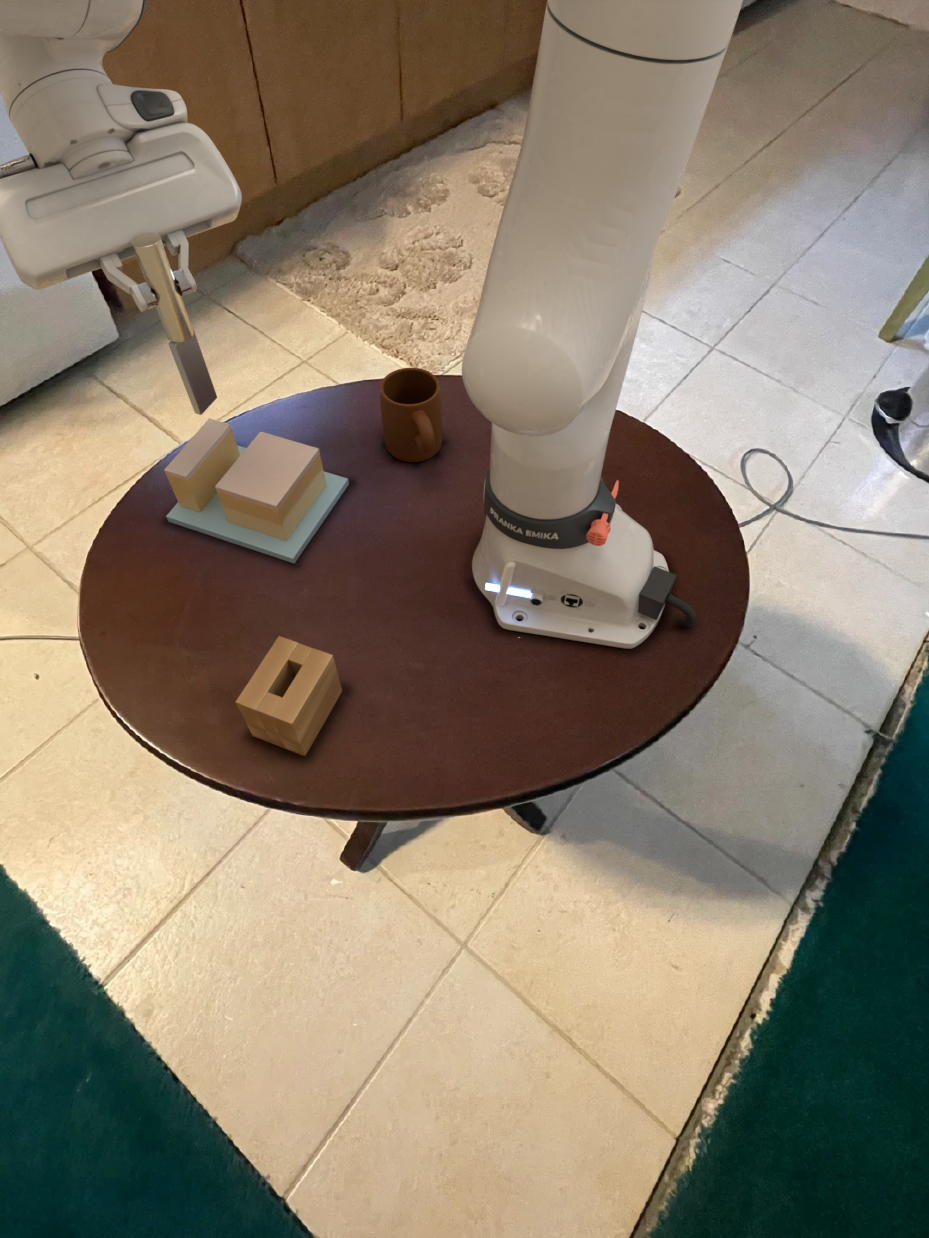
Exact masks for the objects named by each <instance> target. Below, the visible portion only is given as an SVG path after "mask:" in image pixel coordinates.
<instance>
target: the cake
mask: <svg viewBox="0 0 929 1238" xmlns="http://www.w3.org/2000/svg"><path fill="white" fill-rule="evenodd" d="M237 447H238V450H239V453H240V457H239V458H238V459H237V460H236V462H235V463H234V464H233V465H232V467H231V468H230V469H229V470H228V471H227V473H226V474H225V475H224V476H223V477H222V479H221V480H220V481H219V482H218V484H217V485H216V486H215V488H216V490H217V493H216V494H215V495H214V496H213V498H212V499H211V500H210V501H209V503H208V504H207V505H206V506H205V508H204V509H203V510H202V511H201V512H198V511H195V510H191V509H188V508H185V507H182V506H180V505H179V503H178V502H176V504H175V505H174V506H173V507H172V508H171V509H170V511H169V512H168V513H167V514H166V515H165V519H166V520H167V522H169V523H172V524H174V525H178V526H181V527H183V528H186V529H188V530H192V531H196V532H198V533H201V534H204V535H207V536H210V537H213V538H215V539H219V540H222V541H224V542H228V543H231V544H234V545H236V546H240V547H243V548H246V549H249V550H253V551H255V552H258V553H261V554H264V555H267V556H270V557H273V558H276V559H279V560H282V561H285V562H287V563H291V564H296V563H297V561H298V559H299V558H300V557H301V555H302V554H303V552H304V550H305V549H306V548H307V546H308V545H309V544H310V542H311V540H312V539H313V537H314V536H315V534H316V533H317V532H318V530H319V529H320V527H321V526H322V525H323V523H324V521H325V520H326V518H327V517H328V516H329V514H330V513H331V511H332V510H333V508H334V507H335V506H336V504H337V502H338V501H339V500H340V498H341V497H342V495H344V492H345V491H346V489H347V488H348V486H349V485H350V483H349V482H350V481H349V478H347V477H344V476H340V475H337V474H335V473H331V472H328V471H325V470H324V466H323V461H322V456H321V453H320V448H319V447H315V446H311V445H309V444H304V443H301V442H298V441H294V440H291V439H289V438H285V437H281V436H277V435H274V434H271V433H268V432H264V431H259V433H258V434H257V435H256V436H255V437H254V438H253V440H252V441H251V442H250V443H249V445H248V446H247V447H244V446H241V445H238V444H237Z"/></svg>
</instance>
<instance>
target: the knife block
mask: <svg viewBox="0 0 929 1238" xmlns="http://www.w3.org/2000/svg"><path fill="white" fill-rule="evenodd" d="M342 693H343V688H342V684H341V680H340V677H339V673H338V670H337V666H336V661H335V657H334V655H333V654H331V653H328V652H325V651H323V650H320V649H317V648H314V647H311V646H308V645H305V644H302V643H299V642H297V641H294V640H292V639H289V638H286V637H283V636H280V635H278V637H277V638H276V639H275V641H274V643H273V644H272V646H271V647H270V649H269V650H268V651H267V653H266V655H265V656H264V658H263V659H262V661H261V662H260V664H259V665H258V666H257V668H256V670H255V671H254V673H253V674H252V675H251V678H250V679H249V681H248V682H247V684H246V685H245V687H244V688H243V689H242V691H241V693H240V694H239V696H238V698H237V699H236V700H235V704H236V706H237V708H238V710H239V712H240V714H241V716H242V719H243V720H244V722H245V724H246V726H247V728H248V730H249V732H250V734H251V736H252V737H255V738H256V739H260V740H262V741H263V742H264V741H265V742H267V743H269V744H272V745H275V746H277V747H280V748H282V749H284V750H287V751H290V752H292V753H295V754H298V755H299V756H303V757H306V756H307V754H308V753H309V751H310V749H311V747H312V745H313V744H314V742H315V740H316V738H317V737H318V734H319V733H320V731H321V730H322V728H323V726H324V725H325V723H326V721H327V719H328V717H329V716H330V714H331V712H332V710H333V708H334V707H335V706H336V703H337V701H338V700H339V699H340V696H341V694H342Z"/></svg>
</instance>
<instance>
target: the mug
mask: <svg viewBox="0 0 929 1238" xmlns="http://www.w3.org/2000/svg"><path fill="white" fill-rule="evenodd" d="M442 403H443V402H442V392H441V384H440V381H439V379H438V378H437V377H436V375H435V374H434V373H432V372H430V371H429V370H426V369H424V368H419V367H403V368H398V369H396V370H393V371H391V372H390V373H388V374H386V375H385V376H384V377H383V379H382V380H381V382H380V385H379V404H380V405H379V406H380V414H381V423H382V429H383V430H382V431H383V437H384V443H385V447H386V450H387V451H388V453H389V454H390V455H391V456H392V457H394V458H395V459H396V460H399V461H401V462H406V463H419V462H424V461H427V460H429V459H431V458H433V457H434V456H435V455H436V454H437V453H438V452H439V451H440V449H441V447H442V444H443V405H442Z"/></svg>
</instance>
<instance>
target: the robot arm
mask: <svg viewBox="0 0 929 1238" xmlns="http://www.w3.org/2000/svg"><path fill="white" fill-rule="evenodd" d="M148 3H149V0H0V95H1V97H2V101H3V104H4V108H5V112H6V114H7V117H8V118H9V121H10V122H11V124H12V127H13V129H15V131H16V133H17V135H18V137H19V138H20V141H21V143H22V144H23V146H24V148H25V150H26V151H27V152H28V154H27V155H23V156H20V157H17V158H14V159H11V160H8V161H6V162H5V163H1V164H0V241H1V243H2V245H3V248H4V250H5V252H6V254H7V256H8V259H9V261H10V263H11V265H12V267H13V269H14V270H15V272H16V274H17V276H18V279H19V280H20V282H21V283H22V284H23V285H25V286H27V287H30V288H31V289H34V290H36V291H41V290H44V289H46V288H49V287H52V286H54V285H57V284H60V283H64V282H66V281H69V280H72V279H75V278H77V277H81V276H82V275H83V276H84V275H85V274H88V273H92V272H93V271H97V270H100V269H101V270H102V272H103V274H104V276H105V277H106V279H107V280H108V281H109V282H110V283H112V284H113V285H115V286H116V287H117V288H119V289H120V290H122V291H123V292H125V293H126V294H128V295H130V296H131V298H132V299H133V301H134V303H135V305H136V307H137V309H138V310H139V311H140V312H141V313H143V312H146V311H149V310H151V309H154V308H156V306H157V299H156V297H155V295H154V294H153V293H151V288H150V286H149V284H148V283H147V282H146V281H144V282H141V283H139V284H138V283H137V282H136V281H135V280H133V279H132V278H131V277H129V276H128V275H126V274H125V273H124V272H123V262H122V261H126V260H128V259H131V258H134V257H136V254H135V251H134V249H133V246H132V243H131V241H132V239H133V238H134V237H135V236H137V235H139V234H143V233H156V234H158V235H159V236H160V237H161V240H162V243H163V246H164V247H165V246H166V249H167V250H168V252H169V253H170V255H171V256H172V257H175V256H177V255H178V259H177V261H178V269H177V270H174V271H172V272H173V274H174V277H175V280H176V283H177V286H178V289H179V292H180V295H181V297H184V296H187V295H191V294H193V293H196V292H197V290H198V285H197V283H196V281H195V278H194V276H193V275H192V272H191V271H190V269H189V243H190V242H189V241H188V239H187V238H191V237H192V236H195V235H198V234H201V233H204V232H206V231H209V230H213V229H215V228H218V227H220V226H223V225H227V224H229V223H232V222H234V221H236V220H237V219H238V215H239V213H240V210H241V206H242V201H243V195H242V194H243V193H242V190H241V188H240V186H239V184H238V181H237V180H236V178H235V176H234V174H233V173H232V170H231V169H230V167H229V165H228V164H227V162H226V161H225V158H224V157H223V155H222V154H221V152H220V151H219V149H218V147H217V146H216V145H215V143H214V141H213V140H212V139H211V138H210V136H209V135H208V134H207V133H206V132H205V131H204V130H203V129H202V128H200V127H199V126H197V125H196V124H194V123H191V122H188V109H187V105H186V103H185V101H184V98H182V96H181V94H180V93H179V92H177V91H176V90H173V89H163V88H147V87H136V86H128V85H120V84H116V83H113V82H112V80H111V79H110V77H109V76H108V74H107V72H106V71H105V69H104V66H103V59H104V57H105V55H106V54H107V53H111V52H113V51H115V50H116V49H118V48H119V47H120V46H121V45H122V44H123V43H124V42H125V41H126V39H127V38H129V36H130V35H131V34H132V33H133V32H134V30H135V29H136V27H137V26H138V25H139V23H140V22H141V20H142V18H143V16H144V14H145V12H146V9H147V8H148V7H147V6H148ZM743 3H744V0H547V1H546V5H545V12H544V18H543V23H542V30H541V35H540V40H539V46H538V52H537V58H536V63H535V70H534V75H533V80H532V87H531V92H530V98H529V104H528V109H527V115H526V122H525V127H524V131H523V136H522V141H521V145H520V150H519V154H518V156H517V161H516V165H515V167H514V168H515V169H514V171H513V176H512V178H511V181H510V185H509V188H508V191H507V195H506V199H505V202H504V206H503V209H502V212H501V217H500V219H499V223H498V226H497V231H496V234H495V238H494V241H493V245H492V248H491V253H490V255H489V261H488V263H487V264H488V265H487V268H486V272H485V277H484V281H483V284H482V289H481V292H480V297H479V302H478V305H477V309H476V313H475V316H474V320H473V324H472V326H471V329H470V332H469V335H468V339H467V343H466V346H465V350H464V354H463V357H462V361H461V378H462V382H463V386H464V390H465V392H466V394H467V396H468V398H469V400H470V401H471V403H472V404H473V405H474V407H475V408H476V409H477V411H478V412H479V413H480V414H481V415H482V416H483V417H484V418H485V419H487V421H489V422H491V427H490V428H491V429H490V431H491V432H490V454H489V455H490V456H489V458H490V459H489V468H488V470H487V471H486V474H485V478H484V485H483V498H482V500H483V504H484V505H483V509H484V510H483V513H484V515H485V520H484V526H483V530H482V534H481V537H480V540H479V542H478V544H477V545H476V546H477V547H476V548H475V550H474V552H473V556H472V560H471V571H472V575H473V579H474V582H475V584H476V586H477V588H478V589H479V591H480V593H481V594H482V595H483V596H484V597H485V598H486V599H487V601H488V602H489V604H491V606H492V608H493V612H494V617H495V619H496V622H497V623H498V625H499V627H501V628H502V629H504V630H507V631H513V632H520V633H526V634H533V635H538V636H546V637H550V638H551V637H552V638H557V639H564V640H568V641H569V640H570V641H575V642H580V643H581V642H582V643H588V644H594V645H600V646H606V647H607V646H608V647H614V648H621V649H629V650H630V649H635V648H636V647H638V646H640V645H641V644H642V643H644V642H645V640H647V639H648V638H649V636H650V635H651V634H652V633H653V632H654V630H655V628H656V627H657V625H658V623H659V621H660V619H661V617H662V614H663V611H664V609H665V607H666V606H665V605H666V603H667V604H669V605H670V606H673V607H674V608H675V609H678V610H679V611H681V612H682V613H683V614H684V615H685V620H684V625H685V627H687V628H691V627H693V626H694V624H695V621H696V619H697V616H696V612H695V611H694V609H693V608H692V607H691V606H690V605H689V604H688V603H686V602H685V601H684V600H681V598H679V597H677V596H675V595H673V594H671V592H672V590H673V587H674V584H675V582H676V578H677V574H674V573H673V572H670V570H669V567H668V563H667V561H666V558H665V557H664V555H663V554H662V553H660V552H658V551H657V550H655V549H654V544H653V543H654V542H653V539H652V536H651V534H650V533H649V531H648V530H647V529H646V528H645V527H644V526H642V525H641V524H640V523H638V521H636V520H634V519H633V518H632V517H631V516H630V515H628V514H627V513H626V512H625V511H623V509H622V507H621V505H619V504H618V503H617V501H616V498H617V496H618V492H619V486H620V485H619V484H620V481H619V479H617V480H616V481H615V483H614V486H613V488H612V491H610V490H609V489H608V487H607V486H606V484H605V482H604V481H603V477H602V471H603V468H604V463H605V457H606V452H607V447H608V443H609V438H610V433H611V428H612V424H613V420H614V418H615V415H616V410H617V407H618V403H619V400H620V397H621V392H622V389H623V385H624V381H625V378H626V374H627V370H628V367H629V363H630V360H631V356H632V352H633V349H634V344H635V341H636V338H637V337H636V336H637V333H638V330H639V326H640V322H641V319H642V314H643V310H644V305H645V301H646V297H647V293H648V289H649V286H650V281H651V275H652V269H653V264H654V263H653V261H654V252H655V249H656V247H657V244H658V242H659V239H660V236H661V233H662V231H663V228H664V226H665V223H666V221H667V218H668V216H669V214H670V213H669V212H670V210H671V208H672V205H673V203H674V200H675V198H676V195H677V192H678V190H679V188H680V185H681V183H682V179H683V176H684V174H685V170H686V168H687V165H688V162H689V159H690V156H691V154H692V150H693V148H694V145H695V143H696V139H697V136H698V134H699V131H700V128H701V125H702V122H703V119H704V116H705V113H706V111H707V108H708V105H709V102H710V99H711V97H712V94H713V90H714V88H715V85H716V82H717V80H718V76H719V73H720V71H721V69H722V64H723V63H724V59H725V56H726V54H727V51H728V48H729V46H730V42H731V40H732V36H733V33H734V31H735V26H736V25H737V21H738V19H739V15H740V13H741V12H740V11H741V9H742V6H743ZM519 619H520V621H518V620H519ZM642 628H643V629H642Z"/></svg>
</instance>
